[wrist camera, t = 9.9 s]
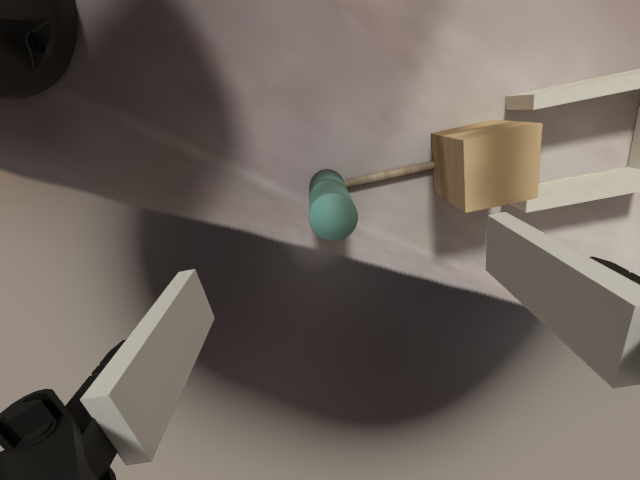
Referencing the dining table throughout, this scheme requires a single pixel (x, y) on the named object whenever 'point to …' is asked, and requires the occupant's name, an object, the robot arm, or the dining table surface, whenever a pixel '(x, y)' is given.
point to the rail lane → (591, 185)
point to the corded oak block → (446, 174)
